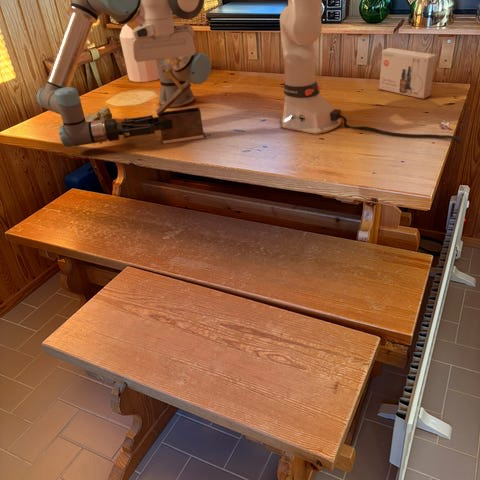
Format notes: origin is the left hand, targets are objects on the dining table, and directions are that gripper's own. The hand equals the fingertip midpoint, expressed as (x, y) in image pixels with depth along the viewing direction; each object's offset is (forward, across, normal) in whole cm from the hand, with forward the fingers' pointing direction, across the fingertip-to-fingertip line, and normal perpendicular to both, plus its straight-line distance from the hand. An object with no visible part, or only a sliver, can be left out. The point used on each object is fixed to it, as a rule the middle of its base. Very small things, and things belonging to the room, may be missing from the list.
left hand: (172, 121), depth 164 cm
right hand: (+1, 0, +17) cm, 17 cm away
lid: (+2, 0, +8) cm, 8 cm away
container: (-9, -93, -7) cm, 94 cm away
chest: (+3, 0, -7) cm, 7 cm away
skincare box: (+95, -15, -6) cm, 96 cm away
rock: (-29, -30, -7) cm, 43 cm away
